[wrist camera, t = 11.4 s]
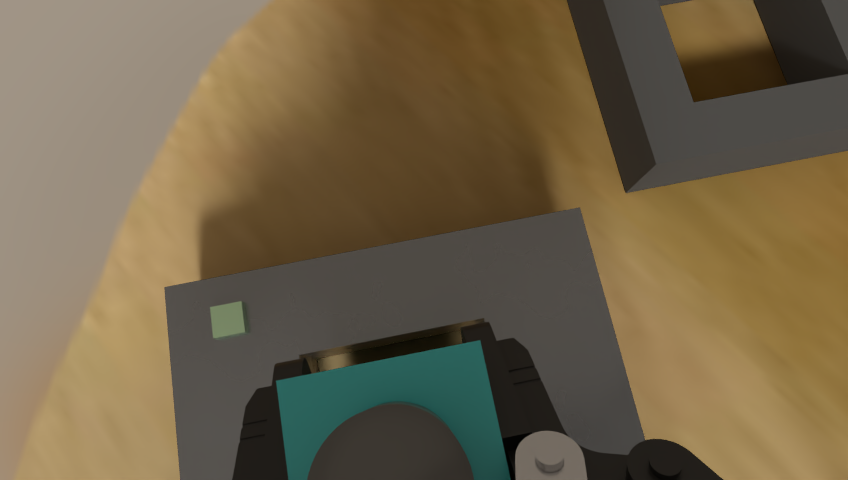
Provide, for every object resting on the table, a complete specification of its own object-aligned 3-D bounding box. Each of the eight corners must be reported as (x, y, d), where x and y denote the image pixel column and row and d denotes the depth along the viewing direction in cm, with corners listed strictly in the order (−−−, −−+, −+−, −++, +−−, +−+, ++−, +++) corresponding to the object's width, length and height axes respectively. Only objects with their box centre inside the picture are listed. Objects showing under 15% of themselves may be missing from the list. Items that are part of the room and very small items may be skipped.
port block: (559, 231, 22) (582, 204, 18) (649, 567, 19) (695, 605, 16) (200, 300, 21) (160, 285, 18) (235, 660, 18) (195, 719, 15)
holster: (777, -55, 25) (823, -113, 22) (863, 147, 23) (928, 112, 20) (561, -18, 25) (580, -72, 22) (625, 192, 22) (656, 164, 19)
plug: (456, 358, 18) (496, 327, 8) (483, 488, 17) (564, 622, 7) (335, 382, 18) (233, 379, 8) (355, 516, 17) (266, 690, 7)
